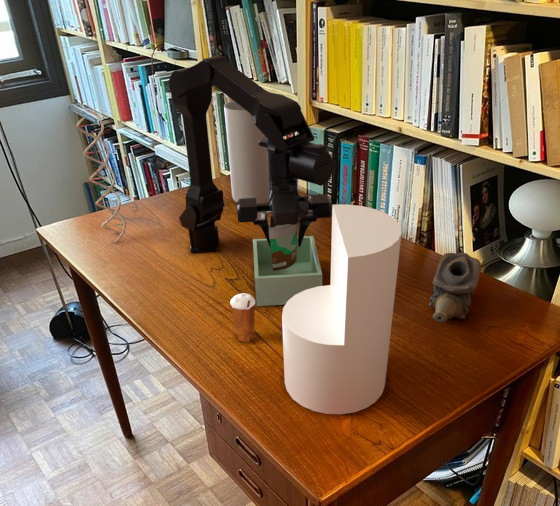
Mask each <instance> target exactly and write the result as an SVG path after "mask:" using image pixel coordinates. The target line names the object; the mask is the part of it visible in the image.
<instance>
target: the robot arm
mask: <svg viewBox="0 0 560 506" xmlns="http://www.w3.org/2000/svg"><path fill="white" fill-rule="evenodd" d="M213 87H215V88H216V89H218V91H220V92H222V93H223V94H224V95H225V96H226V97H228V98H230V99H231V101H235V102H236V103H237V104H239V105H240V106H241V107H242V108H244V109H245V110H246V111H248V112H249V113H250V114H251V115H252V117H253V120H254V124H255V126H256V127H257V128H258V129H259V130H260V131H261V132H262V133H263V134H264V135H265V136H264V138H263V139H262V140H261V141H260V142H259V143H258V144H259V146H261V147H265V148H267V158H268V180H269V201H270V202H269V203H263V204H257V203H256V198H243V199H239V200H238V202H236V215H237V222H238V223H252V224H253V225H254V226H259V227H260V229H261V230H262V232H263V234H264V236H265V239H267V241H268V244H269V246H270V239H269V228H270V221H269V217H268V214H271V213H273V220H274V224H275V225H283V224H291V225H295V224H297V223H298V222H299V220H300V227H299V228H298V229H297V237H298V247H300V246H301V243H302V241H303V238H304V236H306V232H307V230H308V228H309V226H310V225H311V224H312V223H315V222H317V220H318V219H329V218H332V201H331V198H330V195H328V194H327V193H319V194H309V196H307V195H306V196H304V195H303V196H301V195H300V194H299V180H300V181H303V182H307V183H310V184H313V185H317V186H321V187H322V186H325V185H326V184H327V183H328V182H329V181H330V179H331V178H332V176H333V174H334V173H333V172H334V168H335V162H334V160H333V156H332V155H331V153H329V152H328V151H327V150H328V149H327V148H328V147H327V145H326V144H322V143H314V141H315V136H314V134H313V133H312V129H311V128H310V126H309V124H308V122H307V119H306V118H305V116H304V114H303V111H302V107H301V105H300V104H299V103H298V102H297V101H296V100H295V99H292V98H290V97H288V96H286V95H284V94H280V93H275V92H270V91H268V90H266V89H265V88H263V87H262V86H261V85H259V84H258V83H256V81H254V80H253V79H252V78H250V77H249V76H247V75H246V74H245V73H243V72H242V71H241V70H239V69H238V68H236V67H235V66H234V65H232V64H231V63H230V62H229V61H228V59H227V58H226V57H225V56H223V55H220V54H219V55H214V56H210V57H206V58H203V59H202V60H200V61H199V62H197V63H196V64H194V65H192V66H189V67H185V68H179V69H177V70H174V71H173V72H172V73H171V74H170V76H169V77H168V88H169V92H170V96H171V100H172V104H173V105H174V107H175V108H176V109H177V111H178V112H179V113H180V115H181V117H182V124H183V133H184V140H185V141H184V142H185V148H186V156H187V164H188V172H189V180H190V185H189V187H188V189H187V191H186V194H185V209H184V210H183V212H182V213H181V214H180V216H179V217H178V219H179V222H180V224H181V227H182V228H185V229H187V230H188V236H189V242H190V249H189V250H190V253H191V254H196V253H214V252H218V247H219V246H220V233H219V225H216V222H217V221H220V220H221V219H222V213H223V212H224V207H225V206H226V205H225V202H224V201H225V200H224V191H223V190H222V189H219V188H218V187H217V185H216V184H215V182H214V180H213V179H214V178H213V169H212V160H211V151H210V139H209V131H208V120H207V113H208V111H209V108H210V106H211V104H212V100H213ZM295 133H297V134H295ZM293 134H295V135H293ZM289 135H293V136H290V137H287V136H289ZM284 137H287V138H284ZM270 248H271V246H270Z"/></svg>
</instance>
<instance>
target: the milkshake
mask: <svg viewBox="0 0 560 506" xmlns="http://www.w3.org/2000/svg"><path fill="white" fill-rule="evenodd" d="M229 303H230V307H231V312H232V317H233V323H234V327H235V332H236V333H235V334H236V338H237V339H238V340H239V342H242V343H249V342H252V341H253V340H254V339H255V336H256V335H255V334H256V333H255V330H256V328H255V327H256V325H255V323H256V321H255V316H256V315H255V314H256V298H254V296H253V295H251V294H250V293H245V292H242V293H238V294H236V295H234V296H233V297H232V298H231V299H230V302H229Z"/></svg>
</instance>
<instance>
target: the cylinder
mask: <svg viewBox="0 0 560 506" xmlns="http://www.w3.org/2000/svg"><path fill="white" fill-rule="evenodd" d="M331 204H332V203H331ZM402 233H403V232H402V227H401V225H400V223H399V222H398V221H397V220H396V219H395V218H394V217H392V216H391V215H390V214H388V213H387V212H384V211H381V210H378V209H376V208H372V207H368V206H363V205H355V204H340V203H339V204H332V216H331V245H330V246H331V247H330V248H331V249H330V250H331V252H330V284H328V285H322V286H318V287H314V288H310V289H307V290H304V291H302V292H300V293H298V294H296V295H294V296H293V297H292V298H291V299H290V300H288V301H287V303H286V304H285V305H284V306H283V307H282V313H281V322H282V323H281V325H282V327H281V329H282V349H283V352H282V353H283V375H284V377H283V378H284V386H285V390H286V392H287V393H288V395H289V396H290V397H291V399H292V400H293V401H295V402H296V403H297V404H298V405H300V406H301V407H303V408H306V409H308V410H310V411H312V412H317V413H321V414H325V415H345V414H351V413H356V412H359V411H362V410H364V409H367V408H369V407H371V406H372V405H373V404H375V403H376V402H377V401H378V400H379V399H380V397H381V396H382V395H383V392H384V390H385V386H386V379H387V378H386V377H387V369H388V360H389V352H390V351H389V350H390V343H391V334H392V333H391V332H392V325H393V314H394V306H395V305H394V304H395V297H396V287H397V278H398V269H399V262H400V261H399V260H400V251H401V243H402V242H401V241H402Z"/></svg>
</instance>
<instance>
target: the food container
mask: <svg viewBox="0 0 560 506" xmlns="http://www.w3.org/2000/svg"><path fill="white" fill-rule="evenodd" d="M269 227H270V228H269V239H270V246H271V256H272V266H273V271H277V270H282V269H286V268H288V267H290V266H292V265H293V264H294V263H295V262H296V260H297V237H298V229H299V227H300V220H299V222H298V223H297V224H295V225H291V224H283V225H275V224H274V220H273V213H270V221H269Z"/></svg>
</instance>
